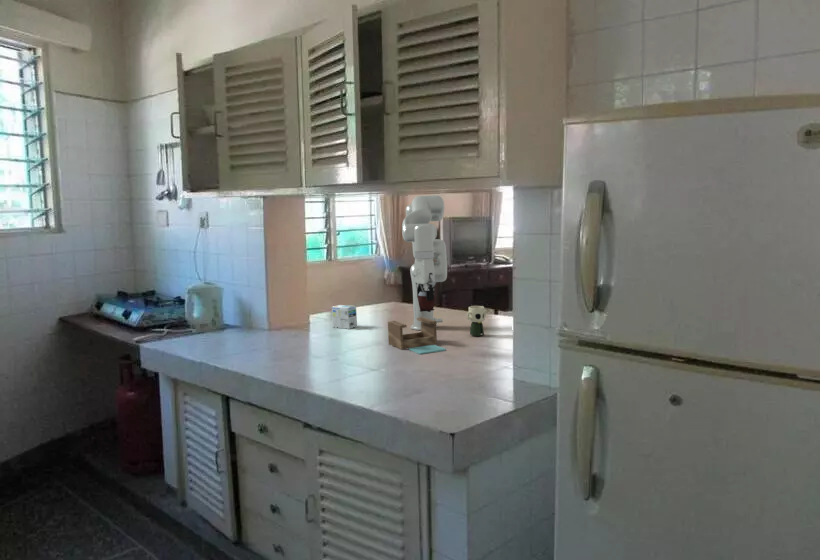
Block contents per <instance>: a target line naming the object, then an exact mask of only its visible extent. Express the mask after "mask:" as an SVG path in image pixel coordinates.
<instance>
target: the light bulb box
mask: <svg viewBox="0 0 820 560" xmlns="http://www.w3.org/2000/svg"><path fill="white" fill-rule="evenodd" d="M331 315H332V316H331V317H332V319H331V320H332V328H333V327H338V328H337V329H343V328H347V329H346V330H351V329H354V328H353V327H355V328H357V327H358V317H357V315H358V314H357V305H350V304H349V305H344V304H338V305H334V306H331ZM350 328H351V329H350Z"/></svg>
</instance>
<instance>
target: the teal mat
mask: <svg viewBox="0 0 820 560" xmlns="http://www.w3.org/2000/svg"><path fill="white" fill-rule="evenodd" d="M408 351H411V352H413V353H416V354H418V355H424V354H432V353H438V352H445V351H447V348H445V347H442V346H438V345H437V344H436V345H427V346H421V347H414V348H408Z"/></svg>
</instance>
